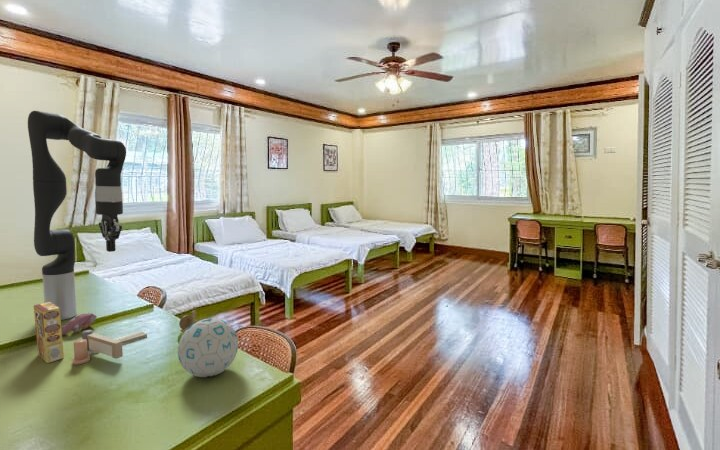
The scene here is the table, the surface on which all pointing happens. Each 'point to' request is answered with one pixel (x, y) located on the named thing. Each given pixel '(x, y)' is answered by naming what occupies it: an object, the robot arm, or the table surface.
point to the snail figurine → (186, 323)
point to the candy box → (48, 332)
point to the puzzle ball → (207, 347)
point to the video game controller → (78, 323)
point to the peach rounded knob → (80, 352)
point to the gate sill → (126, 339)
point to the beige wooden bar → (103, 344)
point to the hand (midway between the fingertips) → (111, 251)
